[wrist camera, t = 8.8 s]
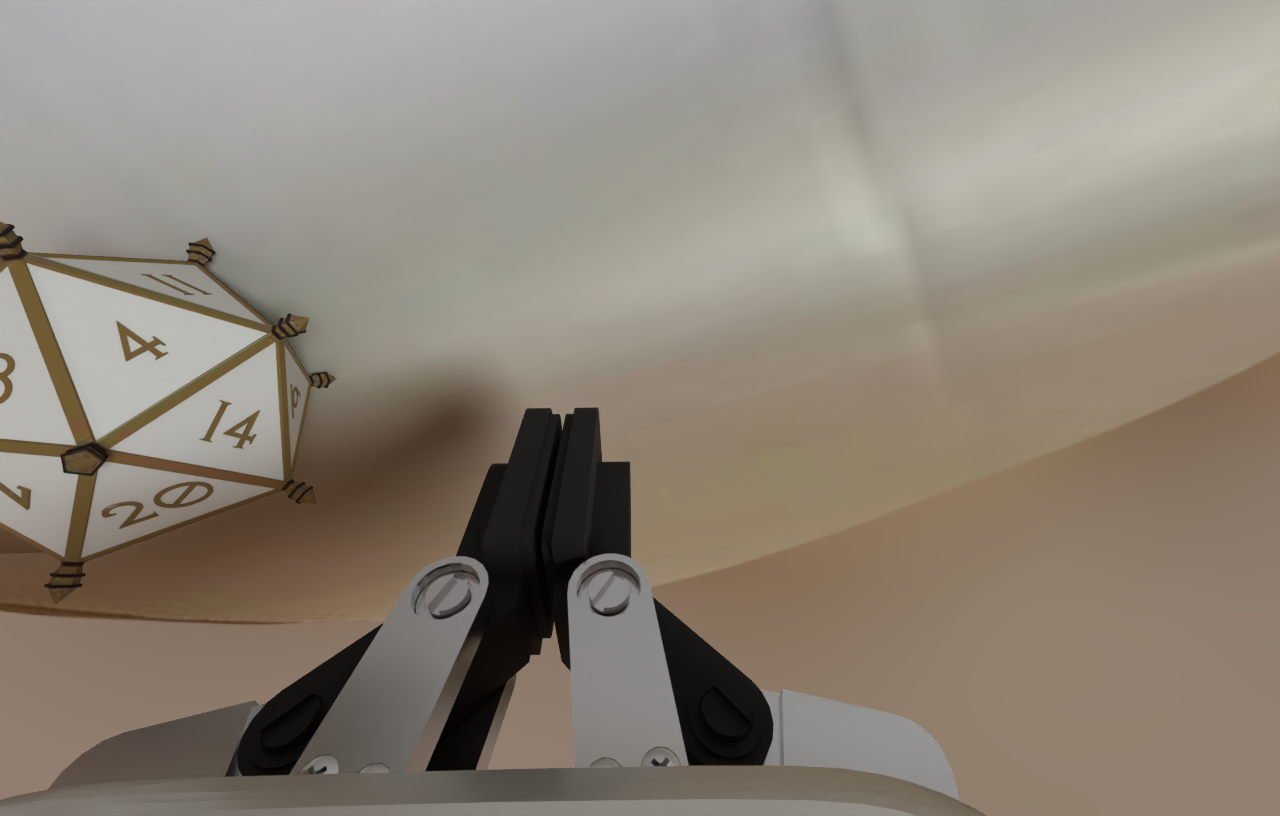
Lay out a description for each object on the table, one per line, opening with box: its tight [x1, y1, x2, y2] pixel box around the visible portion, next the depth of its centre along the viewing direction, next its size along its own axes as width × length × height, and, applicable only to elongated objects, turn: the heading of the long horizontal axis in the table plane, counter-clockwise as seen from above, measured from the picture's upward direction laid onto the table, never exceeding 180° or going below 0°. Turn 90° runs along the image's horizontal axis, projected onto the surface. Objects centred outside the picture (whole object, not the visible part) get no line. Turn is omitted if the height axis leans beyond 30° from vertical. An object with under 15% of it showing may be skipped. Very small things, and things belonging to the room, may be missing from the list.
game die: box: [0, 222, 336, 604], centre depth 12 cm, size 9×8×10 cm
